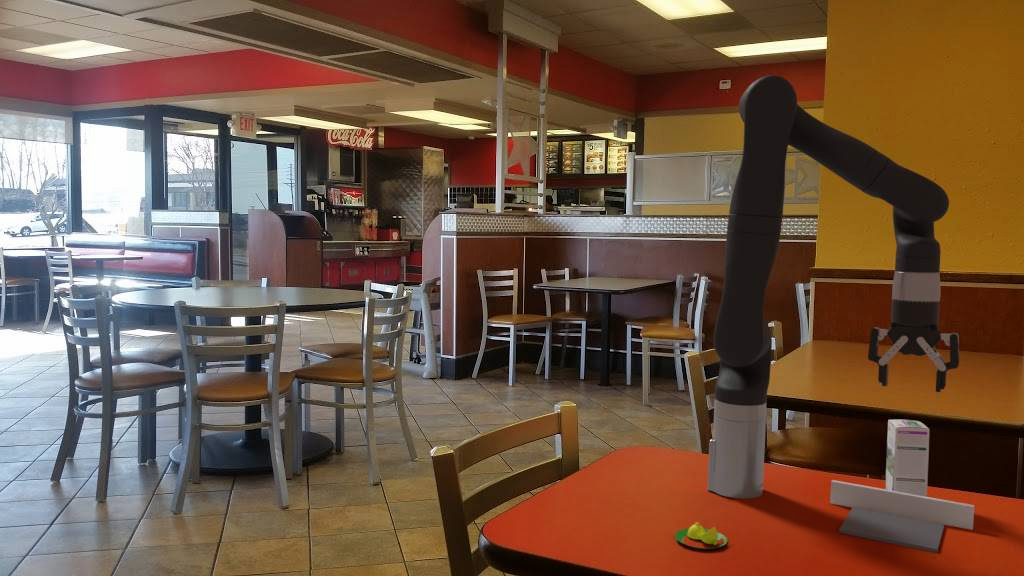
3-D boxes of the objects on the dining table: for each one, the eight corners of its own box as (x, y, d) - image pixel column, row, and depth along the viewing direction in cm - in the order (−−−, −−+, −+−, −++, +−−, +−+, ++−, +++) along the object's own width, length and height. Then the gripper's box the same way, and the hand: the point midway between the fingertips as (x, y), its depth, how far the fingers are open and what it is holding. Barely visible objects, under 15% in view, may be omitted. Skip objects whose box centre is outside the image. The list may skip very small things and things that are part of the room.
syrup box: (927, 509, 139) (932, 428, 138) (891, 506, 140) (895, 425, 139) (917, 498, 145) (922, 420, 144) (882, 495, 146) (887, 418, 145)
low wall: (830, 503, 141) (831, 481, 141) (831, 501, 142) (832, 479, 142) (972, 530, 130) (974, 507, 129) (972, 529, 130) (974, 505, 130)
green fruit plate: (736, 541, 125) (736, 523, 125) (712, 556, 119) (712, 538, 119) (690, 527, 130) (690, 511, 130) (665, 542, 124) (665, 524, 124)
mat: (839, 532, 128) (839, 528, 128) (852, 510, 138) (852, 507, 138) (937, 553, 120) (937, 549, 120) (944, 528, 130) (944, 524, 130)
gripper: (868, 296, 140) (864, 387, 142) (960, 301, 133) (955, 397, 134) (875, 294, 147) (871, 380, 148) (963, 298, 139) (958, 390, 140)
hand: (911, 388), depth 141 cm, fingers open, 8 cm apart
